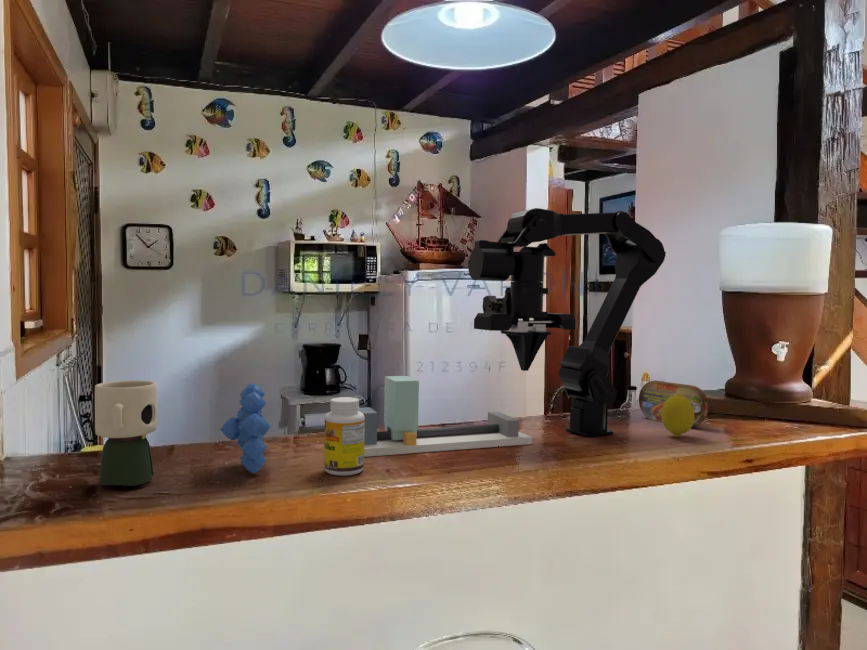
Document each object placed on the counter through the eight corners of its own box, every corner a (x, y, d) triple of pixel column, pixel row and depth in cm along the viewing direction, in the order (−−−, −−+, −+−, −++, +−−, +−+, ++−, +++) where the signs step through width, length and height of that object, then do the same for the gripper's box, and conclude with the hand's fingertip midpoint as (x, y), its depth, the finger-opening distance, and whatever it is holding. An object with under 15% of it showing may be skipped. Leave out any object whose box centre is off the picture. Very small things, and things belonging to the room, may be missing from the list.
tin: (637, 417, 131) (638, 377, 130) (646, 416, 132) (648, 377, 132) (700, 431, 118) (702, 387, 117) (710, 429, 119) (712, 386, 119)
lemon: (658, 438, 111) (660, 394, 111) (663, 432, 116) (664, 390, 116) (692, 442, 108) (693, 397, 108) (694, 436, 113) (696, 392, 113)
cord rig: (504, 431, 114) (505, 398, 114) (531, 444, 105) (532, 407, 104) (344, 442, 104) (345, 405, 103) (358, 457, 94) (359, 417, 94)
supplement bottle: (320, 467, 88) (320, 397, 88) (357, 464, 90) (358, 395, 90) (329, 478, 83) (330, 403, 83) (368, 474, 85) (369, 401, 85)
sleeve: (406, 431, 105) (407, 375, 105) (417, 439, 100) (418, 380, 99) (383, 433, 104) (384, 376, 103) (394, 441, 98) (395, 381, 98)
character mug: (149, 496, 75) (148, 389, 74) (84, 500, 73) (82, 391, 72) (163, 470, 85) (163, 377, 85) (106, 473, 83) (106, 378, 83)
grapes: (220, 460, 91) (220, 379, 91) (267, 457, 93) (267, 378, 93) (220, 483, 80) (220, 392, 80) (273, 479, 82) (274, 390, 82)
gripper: (538, 283, 120) (536, 363, 120) (457, 280, 110) (455, 367, 111) (578, 283, 110) (576, 370, 111) (494, 280, 101) (491, 375, 101)
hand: (524, 370), depth 109 cm, fingers closed
